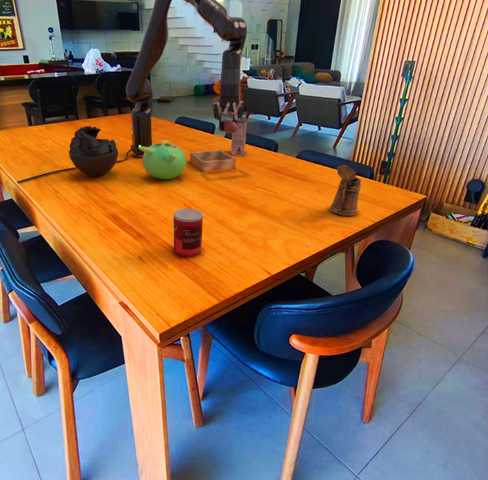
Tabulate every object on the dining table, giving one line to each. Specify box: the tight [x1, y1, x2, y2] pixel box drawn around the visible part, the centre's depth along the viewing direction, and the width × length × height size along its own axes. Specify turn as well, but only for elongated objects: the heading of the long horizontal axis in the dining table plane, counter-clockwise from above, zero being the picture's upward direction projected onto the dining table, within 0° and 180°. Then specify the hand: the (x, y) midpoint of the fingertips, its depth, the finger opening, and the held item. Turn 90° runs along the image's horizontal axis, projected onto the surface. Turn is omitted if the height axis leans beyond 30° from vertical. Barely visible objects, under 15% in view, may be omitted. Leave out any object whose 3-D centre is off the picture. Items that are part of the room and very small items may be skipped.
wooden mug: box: [329, 163, 362, 217], centre depth 126 cm, size 9×14×18 cm, turn 139°
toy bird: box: [138, 139, 187, 180], centre depth 156 cm, size 18×17×15 cm
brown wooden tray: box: [189, 149, 237, 173], centre depth 174 cm, size 16×17×5 cm
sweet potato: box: [223, 118, 237, 135], centre depth 154 cm, size 11×5×5 cm, turn 20°
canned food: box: [173, 208, 204, 258], centre depth 105 cm, size 8×8×11 cm
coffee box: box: [230, 117, 248, 157], centre depth 189 cm, size 9×6×16 cm
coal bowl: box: [68, 125, 119, 177], centre depth 158 cm, size 20×20×19 cm
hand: (227, 130), depth 155 cm, fingers closed on sweet potato, 4 cm apart
